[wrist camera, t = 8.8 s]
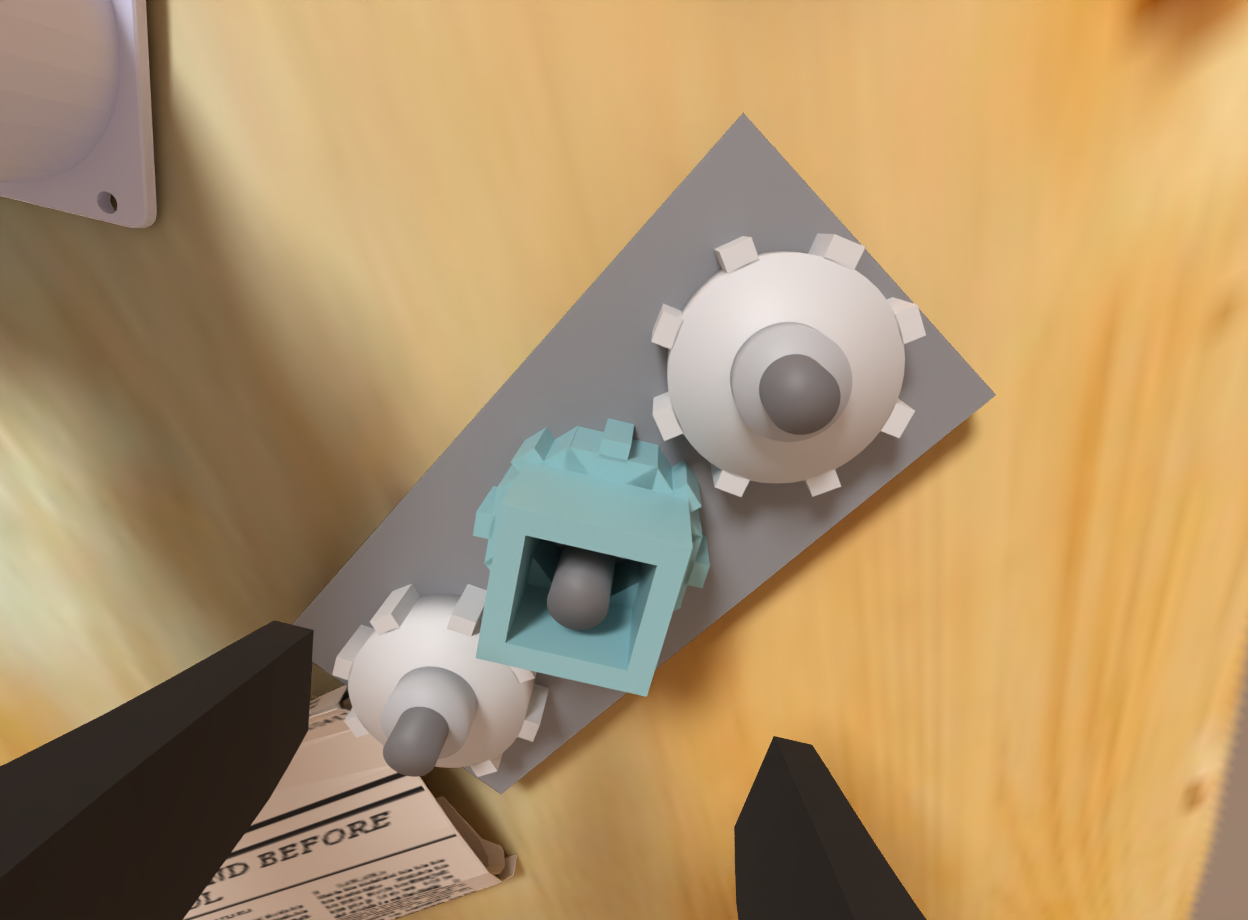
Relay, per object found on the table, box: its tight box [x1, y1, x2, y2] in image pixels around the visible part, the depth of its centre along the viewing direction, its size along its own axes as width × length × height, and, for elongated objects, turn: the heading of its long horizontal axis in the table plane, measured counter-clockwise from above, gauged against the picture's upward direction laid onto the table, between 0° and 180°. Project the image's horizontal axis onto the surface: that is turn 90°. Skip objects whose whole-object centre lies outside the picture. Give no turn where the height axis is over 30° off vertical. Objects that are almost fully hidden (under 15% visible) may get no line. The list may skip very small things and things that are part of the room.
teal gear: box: [473, 418, 710, 697], centre depth 15 cm, size 6×6×4 cm
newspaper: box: [183, 685, 517, 920], centre depth 25 cm, size 35×12×4 cm, turn 119°
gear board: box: [292, 113, 996, 794], centre depth 16 cm, size 20×9×5 cm, turn 137°
